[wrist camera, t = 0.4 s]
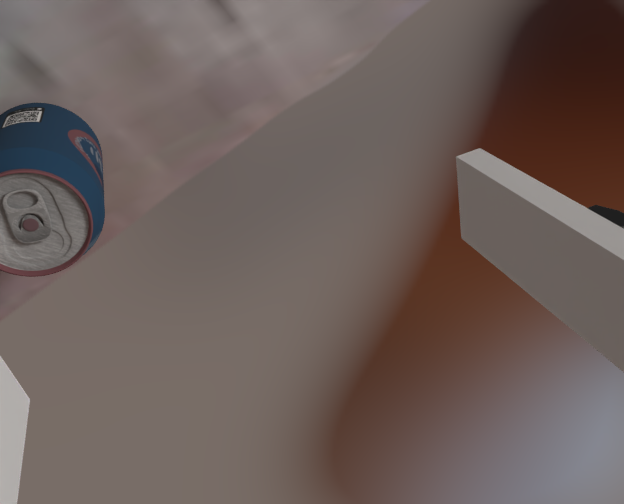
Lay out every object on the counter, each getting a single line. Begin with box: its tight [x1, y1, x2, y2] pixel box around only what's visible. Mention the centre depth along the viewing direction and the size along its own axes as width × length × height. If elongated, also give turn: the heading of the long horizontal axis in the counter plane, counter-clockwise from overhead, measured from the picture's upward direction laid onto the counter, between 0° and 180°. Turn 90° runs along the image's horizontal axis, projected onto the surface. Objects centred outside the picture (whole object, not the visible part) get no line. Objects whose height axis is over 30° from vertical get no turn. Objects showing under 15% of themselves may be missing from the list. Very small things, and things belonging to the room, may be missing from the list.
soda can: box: [0, 103, 105, 277], centre depth 33 cm, size 7×7×12 cm
